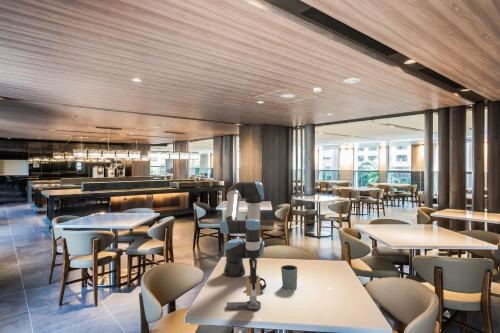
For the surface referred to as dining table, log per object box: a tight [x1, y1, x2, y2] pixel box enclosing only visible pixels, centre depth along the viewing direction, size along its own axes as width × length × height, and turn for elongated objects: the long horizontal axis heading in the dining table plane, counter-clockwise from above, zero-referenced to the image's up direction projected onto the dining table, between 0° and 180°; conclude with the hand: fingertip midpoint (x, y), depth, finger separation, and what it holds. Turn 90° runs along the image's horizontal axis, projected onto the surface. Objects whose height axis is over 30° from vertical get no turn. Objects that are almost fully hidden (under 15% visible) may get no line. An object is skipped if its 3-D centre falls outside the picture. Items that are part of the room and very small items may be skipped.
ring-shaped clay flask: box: [260, 277, 267, 292], centre depth 180 cm, size 12×10×8 cm
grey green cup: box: [280, 264, 298, 291], centre depth 184 cm, size 10×10×12 cm
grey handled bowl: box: [226, 296, 262, 312], centre depth 157 cm, size 8×18×7 cm, turn 93°
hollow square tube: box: [245, 274, 261, 297], centre depth 157 cm, size 7×7×8 cm
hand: (253, 292), depth 157 cm, fingers closed on hollow square tube, 7 cm apart
